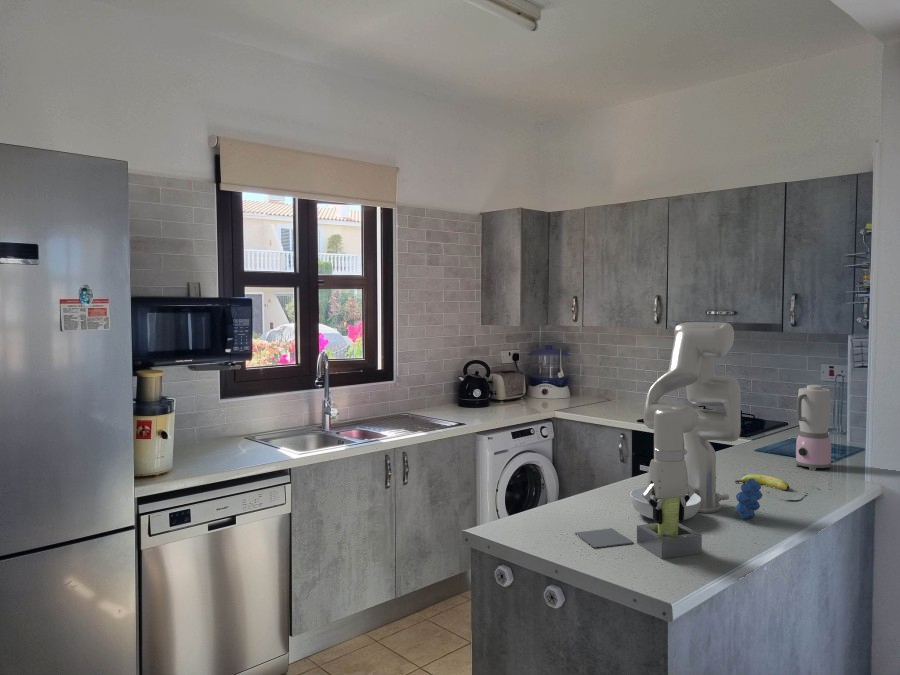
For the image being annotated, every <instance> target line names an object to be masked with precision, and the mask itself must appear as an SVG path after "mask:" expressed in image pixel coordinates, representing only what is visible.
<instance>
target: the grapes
mask: <svg viewBox="0 0 900 675" xmlns="http://www.w3.org/2000/svg"><path fill="white" fill-rule="evenodd" d="M761 488H762V485H760V483H759V482H757V481H755V480H754V479H749V480H748V481H747V482H746V483H741V486H740V490H741V491H739V492H737V494H736V496H735V497H736V500H737V502H738V503H737V505H736V506H735V507H736V508H735V509H736V511H737V513H738V514H739V518H741V519H742V520H746V519H747V518H748V519H751V518H753V517H754V516H755V515H756V513H755V512H756V511H757V510H759V509H760V507H761V504H760V500H761V499H762V498H763V493H762V491H761Z"/></svg>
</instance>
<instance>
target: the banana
mask: <svg viewBox="0 0 900 675" xmlns="http://www.w3.org/2000/svg"><path fill="white" fill-rule="evenodd" d="M749 479H754V480H755V481H757V482H759V483H760V484H762V485H761V486H763V485H767V486H766V487H768V486H772V487H771V488H773V487H775V488H774V489H777V488H778V489H777V490H779V489H782V490H781V491H787V490H789V489H790V485H789V483H787V481H785V480H783V479H780V478H778V477H776V476H775V477H774V476H770V475H767V474H765V475H764V474H758V473H752V474H745V475H743V477H742V478H741V479H739V480H737V479H736V480H734V483H736V482H747V481H748V480H749ZM810 488H814V486H813V485H812V486H811V485H810ZM817 490H818V491H821V488H818V487H817ZM803 492H804V493H806V492H807V491H803ZM806 494H808V493H806Z"/></svg>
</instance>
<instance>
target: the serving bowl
mask: <svg viewBox="0 0 900 675" xmlns="http://www.w3.org/2000/svg"><path fill="white" fill-rule="evenodd" d="M647 487H648V486H643V487H637V488H634V489H632V490H631V491H630V493H629V497H630V501H631V504H632V507H633V508H634V510H636V511H637V513H639V514H640V515H642V516H644V517H646V518H648V519H652V520H654V519H653V507H652V506H651V505H650V504H649V503H648V502H647V501H646V500H645V499H644V498H643V497H642V495H643V493H644V492H645V491H646V490H647ZM653 496H654V495H650V497H651V498H652V499H653ZM700 505H701V498H700V496H698V495H697V494H695V493H694V494H693V495H692V496H691V497H690V499H689V501H688V502H687V503H686V506H685V507H684V521H687V520H689V519H691V518H692V517H695V515H697V513H699V512H698V510H699V508H700ZM678 522H680V521H679V520H678Z"/></svg>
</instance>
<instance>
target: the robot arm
mask: <svg viewBox="0 0 900 675" xmlns="http://www.w3.org/2000/svg"><path fill="white" fill-rule="evenodd" d="M673 333H674V334H673V335H674V339H673V343H672V344H673V345H672V350H671V354H670V361H669V366H668V370H667V372H665V373H664V374H662V376H660V377H658V378H657V379H656V381H655V382H654V383H653V384H652V385H651V386H650V388H649V389H648V391H647V395H646V399H645V403H644V408H643V415H642V416H643V418H642V419H643V423H644V425H645V427H647V428H648V429H651V430H653V458H652V459H651V460H650V463H649V467H648V473H647V474H648V476H647V486H646V487H647V490H646V491H645V492H644V493H643V495H642V497H643V498H644V499H645V500H646V501H647V502H648V503H649V504H650V505H651V506H652V507H653V519H652V520H653V522H654V523H658V524H662V509H660V508H661V504H662V501H663V499H667V498H676V497H680V504H679V519H678V520H679V521H678V522H684V521H685V520H684V507H685V506H686V503H687V502H688V501H689V499H690V497H691V496H692V495H693V494H694V493H695V494H697V495H698V496H700V498H701V505H700V508H699V510H698V512H697V513H703V514H704V513H706V514H707V513H716V512H719V511H720V510H722V504H721V503H720V502H721V501H727V500H729V499H730V496H729V494H728V493H720V492H717V454H716V450H715V449H714V447H713V445H712V444H711V443H710V441H717V442H730V443H731V442H736V441H737V440H739V438H740V436H741V430H742V429H741V426H742V425H741V424H742V423H741V422H742V421H741V419H742V418H741V416H742V415H741V410H742V409H741V408H742V406H741V404H742V403H741V396H742V395H741V387H740V383H739V380H737V379H736V378H735V377H733V376H726V375H725V376H724V375H716V373H715V370H716V369H715V366H716V365H715V364H716V362H715V359H714V358H722V357H724V356H726V355H727V353H728V352H729V351H730V350H731V349H732V347H733V344H734V342H735V330H734V327H733V325H732V324H730V323H728V322H718V321H717V322H715V321H713V322H712V321H711V322H710V321H709V322H707V321H705V322H704V321H702V322H701V321H696V322H695V321H691V322H681V323H678V324H677V325H676V326H675V327H674V332H673ZM681 388H685V389H686V390H685V391H686V398H687V400H688V402H689V403H690V404H693V405H698V406H707V407H721V408H723V410H719V409H718V410H717V409H716V410H715V409H708V408H705V409H703V408H695V407H693V406H691V405H688V404H679V403H677V404H675V403H666V402H664V403H663V402H660V401H661V399H662V398H663V397H665V395H667V394H669V393H671V392H673V391H676V390H679V389H681ZM650 495H654V496H653V499H652V498H651V497H650ZM657 499H658V500H657Z"/></svg>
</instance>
